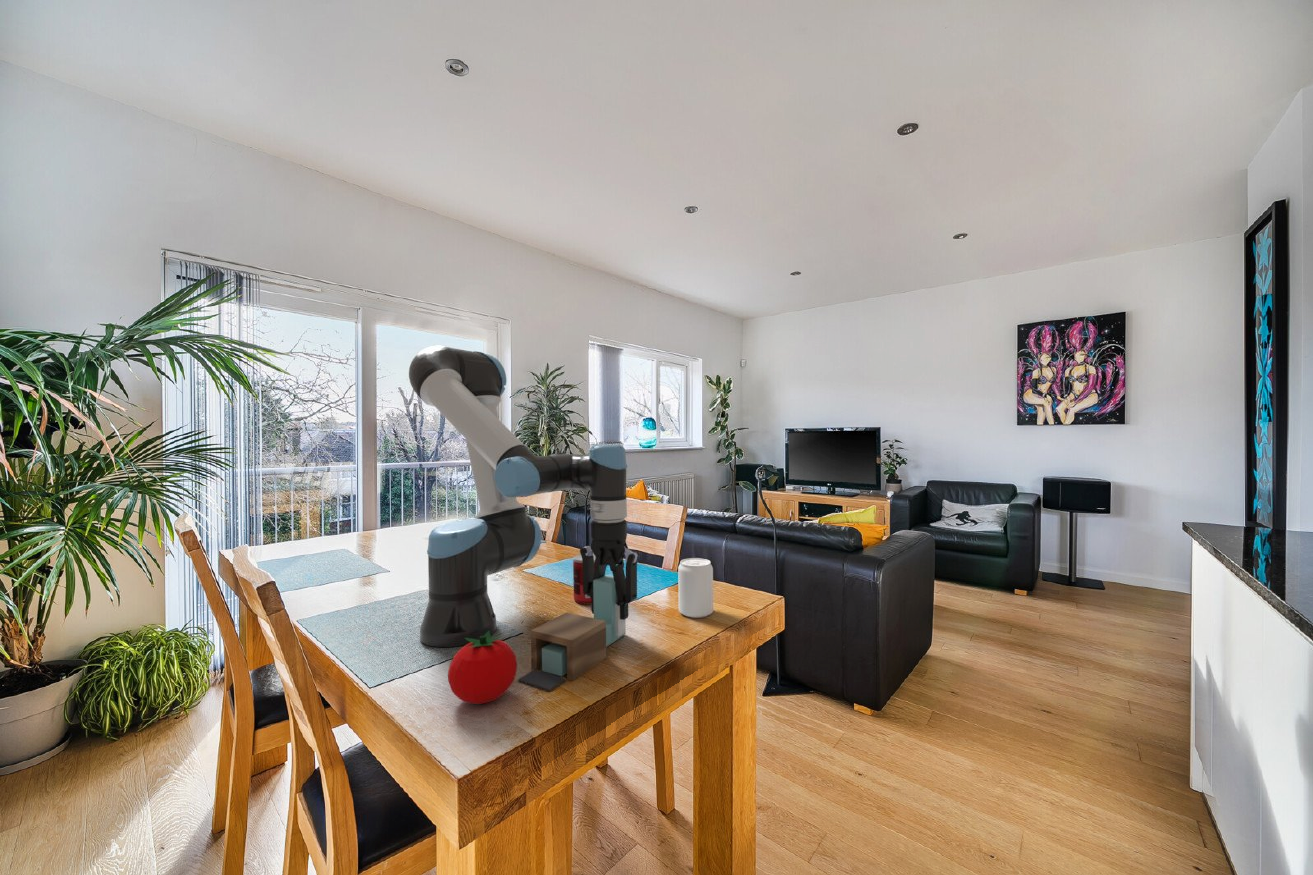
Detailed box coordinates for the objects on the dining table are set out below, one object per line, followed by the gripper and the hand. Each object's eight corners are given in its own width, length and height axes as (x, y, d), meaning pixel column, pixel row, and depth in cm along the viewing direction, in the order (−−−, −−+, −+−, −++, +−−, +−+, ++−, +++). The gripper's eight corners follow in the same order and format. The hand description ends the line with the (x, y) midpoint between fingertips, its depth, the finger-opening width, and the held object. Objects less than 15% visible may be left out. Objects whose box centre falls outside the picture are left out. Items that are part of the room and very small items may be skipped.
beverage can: (711, 620, 111) (711, 567, 111) (676, 618, 113) (675, 565, 113) (714, 607, 119) (714, 558, 119) (681, 605, 121) (680, 556, 121)
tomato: (437, 718, 74) (436, 652, 74) (461, 683, 84) (460, 624, 84) (508, 716, 74) (507, 649, 74) (523, 681, 85) (523, 623, 84)
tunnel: (531, 668, 89) (531, 630, 89) (567, 647, 98) (566, 612, 98) (572, 681, 84) (572, 640, 84) (606, 657, 93) (605, 620, 93)
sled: (542, 670, 88) (541, 603, 88) (607, 629, 106) (607, 574, 106) (561, 676, 86) (560, 607, 86) (625, 633, 104) (625, 576, 103)
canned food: (610, 597, 127) (610, 555, 127) (590, 606, 121) (590, 562, 120) (587, 592, 131) (587, 551, 131) (567, 601, 125) (566, 558, 125)
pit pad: (518, 681, 84) (518, 679, 84) (534, 671, 88) (534, 669, 88) (549, 691, 81) (549, 689, 81) (565, 680, 85) (565, 678, 85)
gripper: (563, 519, 103) (565, 630, 103) (635, 526, 95) (636, 647, 95) (585, 513, 110) (586, 618, 110) (654, 519, 101) (655, 633, 101)
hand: (609, 631), depth 102 cm, fingers closed on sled, 4 cm apart
